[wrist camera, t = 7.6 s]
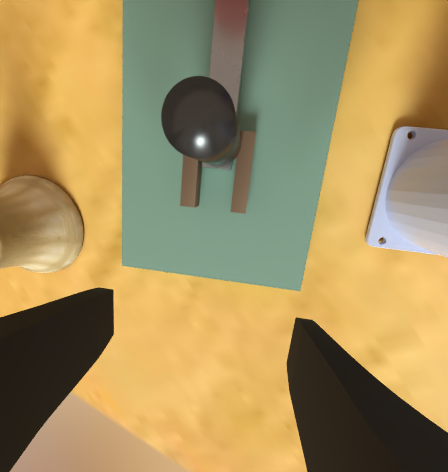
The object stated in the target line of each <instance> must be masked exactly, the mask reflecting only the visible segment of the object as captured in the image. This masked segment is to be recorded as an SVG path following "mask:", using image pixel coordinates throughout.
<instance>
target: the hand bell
mask: <svg viewBox="0 0 448 472" xmlns="http://www.w3.org/2000/svg"><path fill="white" fill-rule="evenodd" d="M83 236H84V232H83V224H82V220H81V216H80V214H79V211H78V209H77V207H76V206H75V204H74V202H73V201H72V199H71V198H70V197H69V196H68V195H67V193H66V192H65V191H64V190H62V189H61V188H60V187H59V186H58V185H56V184H55V183H53V182H51V181H49V180H47V179H45V178H41V177H38V176H32V175H22V176H17V177H14V178H12V179H9V180H8V181H6V182H4V183H3V184H1V185H0V269H1V268H6V267H15V266H19V267H21V268H23V269H26V270H28V271H32V272H39V273H51V272H57V271H60V270H62V269H64V268H66V267H68V266H69V265H70V264H71V263H72V262H73V261H74V260H75V259H76V257H77V256H78V254H79V252H80V250H81V247H82V243H83Z"/></svg>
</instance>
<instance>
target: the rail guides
mask: <svg viewBox="0 0 448 472" xmlns="http://www.w3.org/2000/svg"><path fill="white" fill-rule="evenodd" d="M240 136H241V148H240V152H239V154H238V156H237V158H236V167H235V176H234V185H233V193H232V202H231V211H230V212H234V213H243V214H246V206H247V199H248V191H249V183H250V175H251V168H252V160H253V152H254V144H255V136H256V132H250V131H240ZM201 175H202V162H201V161H199V160H196V159H193V158H191V157H188V156H185V155H183V165H182V182H181V198H180V206H185V207H193V208H195V207H197V206H199V200H200V187H201Z"/></svg>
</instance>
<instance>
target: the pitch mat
mask: <svg viewBox="0 0 448 472" xmlns="http://www.w3.org/2000/svg"><path fill="white" fill-rule="evenodd" d="M358 1H359V0H250V8H249V17H248V26H247V35H246V45H245V54H244V63H243V72H242V81H241V90H240V99H239V108H238V118H237V122H238V126H239V131H250V132H256V136H255V144H254V152H253V160H252V168H251V175H250V183H249V191H248V199H247V206H246V214H243V213H234V212H230V211H231V202H232V193H233V185H234V176H235V167H236V158H237V157H236V158H235V159H234V160H233V163H232V170H224V169H215V168H205V167H202V175H201V187H200V200H199V206H197V207H195V208H193V207H185V206H180V198H181V182H182V165H183V154H181V153H180V152H178V151H177V150H176V149H175V148H173V146H172V145H171V144H170V143H169V141H168V140H167V138H166V136H165V134H164V131H163V128H162V122H161V112H162V106H163V103H164V100H165V98H166V96H167V94H168V93H169V91H170V90H171V89H172V87H173V86H174V85H176V84H177V83H178V82H180V81H181V80H183V79H185V78H188V77H192V76H205V77H209V75H210V62H211V50H212V38H213V25H214V13H215V0H123V128H122V266H128V267H135V268H142V269H149V270H156V271H163V272H170V273H177V274H184V275H191V276H198V277H205V278H212V279H219V280H226V281H233V282H240V283H247V284H254V285H261V286H268V287H274V288H281V289H288V290H295V291H300V290H301V285H302V280H303V275H304V270H305V265H306V260H307V255H308V250H309V245H310V240H311V235H312V230H313V225H314V220H315V215H316V210H317V205H318V200H319V195H320V190H321V185H322V180H323V175H324V170H325V165H326V160H327V155H328V150H329V145H330V140H331V135H332V130H333V125H334V120H335V115H336V110H337V105H338V100H339V95H340V90H341V85H342V80H343V75H344V70H345V65H346V60H347V56H348V51H349V46H350V41H351V36H352V31H353V26H354V21H355V16H356V11H357V6H358Z"/></svg>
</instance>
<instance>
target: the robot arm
mask: <svg viewBox="0 0 448 472" xmlns="http://www.w3.org/2000/svg"><path fill="white" fill-rule="evenodd" d="M409 132H411V133H412V138H411V139H408V137H407V134H408V133H409ZM381 237H383V242H381V243H379V239H380V238H381ZM365 241H366V243H367V244H368V245H370V246H373V247H380V248H388V249H396V250H404V251H412V252H420V253H428V254H436V255H441V256H444V257H446V258H448V130H445V129H433V128H422V127H410V126H402V127H399V128H397V129H396V130H395V131H394V132H393V134H392V137H391V141H390V145H389V149H388V153H387V157H386V160H385V164H384V168H383V172H382V176H381V180H380V184H379V188H378V191H377V195H376V199H375V203H374V207H373V211H372V215H371V218H370V222H369V226H368V230H367V234H366V238H365ZM113 335H114V309H113V290H112V289H105V288H94V289H90V290H87V291H83V292H80V293H77V294H74V295H71V296H67V297H64V298H61V299H58V300H55V301H52V302H49V303H46V304H43V305H40V306H37V307H34V308H30V309H27V310H24V311H20V312H17V313H14V314H10V315H7V316H4V317H0V472H9V471H10V470H11V469H12V467H13V466H14V465H15V463H16V462H17V460H18V459H19V458H20V456H21V455H22V453H23V452H24V451H25V449H26V448H27V446H28V445H29V443H30V442H31V441H32V439H33V438H34V437H35V435H36V434H37V432H38V431H39V430H40V428H41V427H42V426H43V424H44V423H45V422H46V421H47V419H48V418H49V417H50V416H51V415H52V413H53V412H54V411H55V410H56V409H57V407H58V406H59V405H60V404H61V403H62V401H63V400H64V399H65V398H66V397H67V395H68V394H69V393H70V392H71V391H72V389H73V388H74V387H75V386H76V385H77V384H78V382H79V381H80V380H81V379H82V378H83V376H84V375H85V374H86V373H87V371H88V370H89V369H90V368H91V367H92V365H93V364H94V363H95V362H96V360H97V359H98V358H99V357H100V355H101V354H102V352H103V351H104V349H105V348H106V346H107V344H108V343H109V341H110V339H111V338H112V336H113ZM287 372H288V382H289V391H290V396H291V400H292V405H293V409H294V414H295V418H296V423H297V427H298V431H299V436H300V440H301V445H302V449H303V453H304V458H305V462H306V467H307V472H448V433H447V432H446V431H444V430H443V429H442V428H440V427H439V426H437V425H436V424H435V423H433V422H432V421H430V420H429V419H428V418H426V417H425V416H424V415H422V414H421V413H420V412H418V411H417V410H416V409H414V408H413V407H412V406H410V405H409V404H408V403H406V402H405V401H404V400H402V399H401V398H400V397H398V396H397V395H396V394H395V393H393V392H392V391H391V390H390V389H388V388H387V387H386V386H385V385H384V384H382V383H381V382H380V381H379V380H378V379H376V378H375V377H374V376H373V375H372V374H371V373H369V372H368V371H367V370H366V369H365V368H364V367H363V366H361V365H360V364H359V363H358V362H357V361H356V360H355V359H354V358H353V357H351V356H350V355H349V354H348V353H347V352H346V351H345V350H344V349H343V348H342V347H341V346H340V345H339V344H338V343H337V342H336V341H334V340H333V339H332V338H331V337H330V336H329V335H328V334H327V333H326V332H325V331H324V330H323V329H322V328H321V327H320V326H319V325H318V324H317V323H315V322H314V321H313V320H309V319H302V318H296V319H295V324H294V329H293V334H292V339H291V344H290V349H289V354H288V359H287Z"/></svg>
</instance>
